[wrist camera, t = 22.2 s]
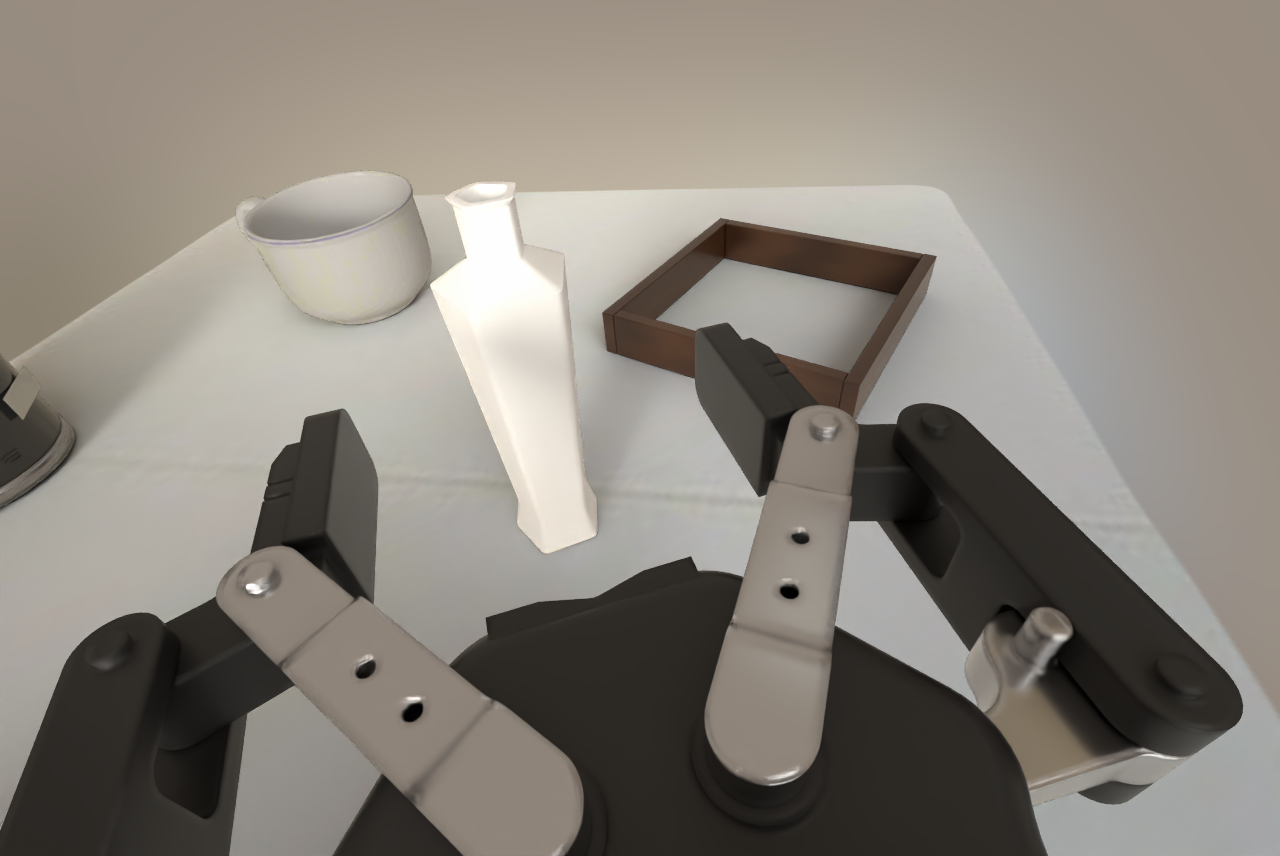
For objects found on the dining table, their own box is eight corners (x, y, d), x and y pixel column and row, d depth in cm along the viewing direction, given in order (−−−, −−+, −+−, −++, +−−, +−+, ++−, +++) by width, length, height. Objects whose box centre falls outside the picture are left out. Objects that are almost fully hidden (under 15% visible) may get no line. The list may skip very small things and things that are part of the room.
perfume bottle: (590, 469, 30) (536, 157, 20) (622, 532, 27) (575, 198, 17) (501, 500, 29) (397, 184, 19) (522, 569, 26) (411, 233, 16)
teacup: (473, 284, 46) (443, 178, 41) (365, 358, 39) (313, 242, 34) (350, 256, 52) (310, 160, 46) (236, 317, 45) (174, 212, 40)
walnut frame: (606, 351, 38) (602, 312, 36) (719, 252, 47) (720, 217, 46) (850, 428, 31) (859, 385, 29) (926, 294, 40) (937, 255, 39)
